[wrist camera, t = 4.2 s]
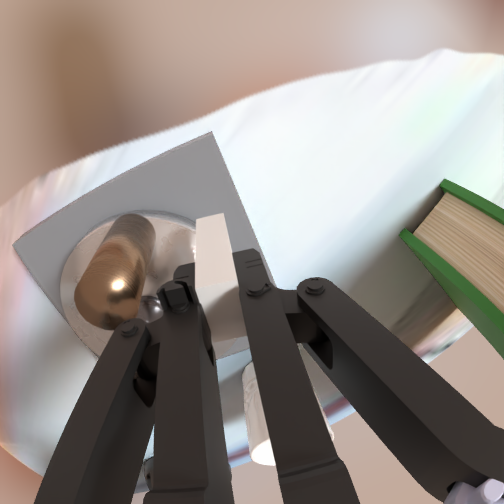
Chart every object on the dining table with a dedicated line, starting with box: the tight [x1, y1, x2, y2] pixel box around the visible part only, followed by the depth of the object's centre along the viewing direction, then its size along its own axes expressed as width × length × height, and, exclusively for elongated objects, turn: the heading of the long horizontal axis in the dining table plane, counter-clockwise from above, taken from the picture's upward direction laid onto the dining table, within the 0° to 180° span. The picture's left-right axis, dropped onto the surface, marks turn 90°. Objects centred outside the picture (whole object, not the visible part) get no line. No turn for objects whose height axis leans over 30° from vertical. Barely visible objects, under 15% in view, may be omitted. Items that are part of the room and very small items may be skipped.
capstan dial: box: [60, 210, 237, 359], centre depth 19 cm, size 16×14×9 cm
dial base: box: [13, 131, 277, 360], centre depth 24 cm, size 18×18×2 cm
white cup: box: [242, 361, 334, 466], centre depth 28 cm, size 8×8×10 cm
